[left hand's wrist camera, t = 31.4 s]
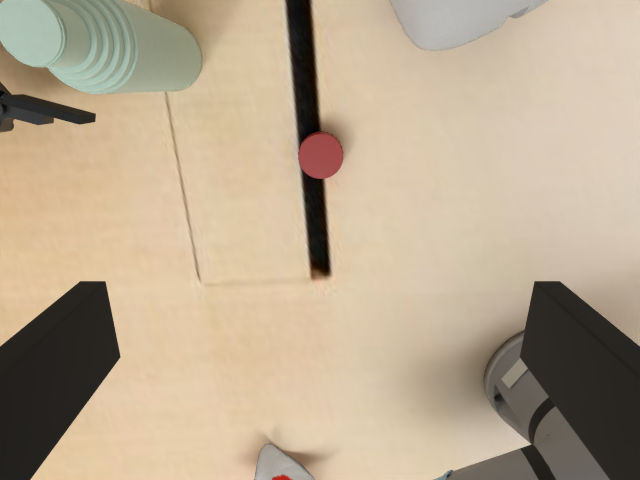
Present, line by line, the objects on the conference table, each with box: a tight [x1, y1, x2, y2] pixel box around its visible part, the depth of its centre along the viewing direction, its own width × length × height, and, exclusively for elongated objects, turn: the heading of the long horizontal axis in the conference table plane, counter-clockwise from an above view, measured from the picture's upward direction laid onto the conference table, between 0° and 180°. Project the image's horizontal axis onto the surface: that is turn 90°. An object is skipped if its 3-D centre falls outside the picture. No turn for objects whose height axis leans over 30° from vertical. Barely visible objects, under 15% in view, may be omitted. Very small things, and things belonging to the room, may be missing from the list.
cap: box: [298, 131, 343, 179], centre depth 43 cm, size 5×5×2 cm
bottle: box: [0, 0, 202, 94], centre depth 31 cm, size 6×6×21 cm
